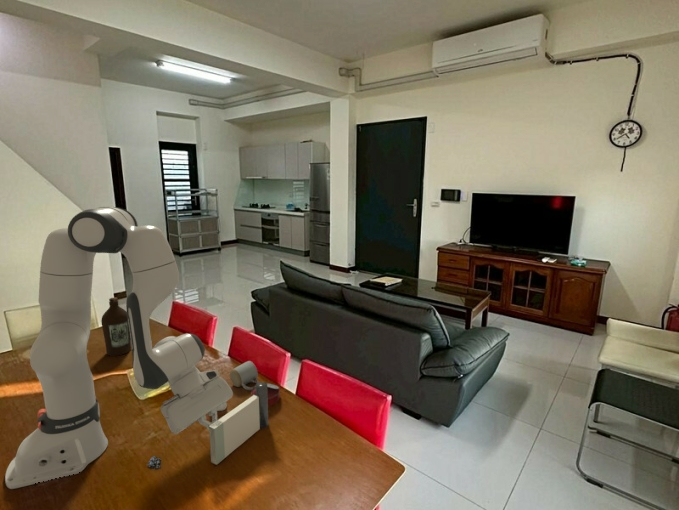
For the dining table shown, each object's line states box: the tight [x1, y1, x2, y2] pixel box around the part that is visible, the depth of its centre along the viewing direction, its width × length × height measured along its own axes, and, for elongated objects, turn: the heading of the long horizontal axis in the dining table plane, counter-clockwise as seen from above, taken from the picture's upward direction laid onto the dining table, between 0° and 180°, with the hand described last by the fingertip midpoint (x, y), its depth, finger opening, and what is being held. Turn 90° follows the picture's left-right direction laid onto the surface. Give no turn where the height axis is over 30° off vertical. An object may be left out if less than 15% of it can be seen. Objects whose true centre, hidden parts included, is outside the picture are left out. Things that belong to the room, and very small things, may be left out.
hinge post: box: [254, 381, 269, 430], centre depth 115 cm, size 4×4×14 cm
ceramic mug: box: [229, 360, 259, 391], centre depth 139 cm, size 11×8×8 cm
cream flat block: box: [208, 395, 261, 465], centre depth 106 cm, size 17×2×11 cm, turn 150°
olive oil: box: [100, 297, 132, 357], centre depth 163 cm, size 11×11×25 cm
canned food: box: [250, 380, 280, 407], centre depth 131 cm, size 11×10×10 cm
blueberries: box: [146, 455, 162, 470], centre depth 100 cm, size 7×8×2 cm
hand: (215, 428), depth 105 cm, fingers closed
